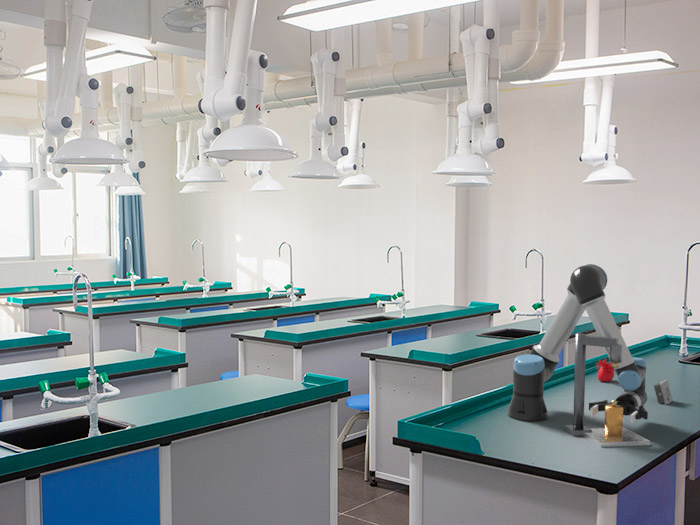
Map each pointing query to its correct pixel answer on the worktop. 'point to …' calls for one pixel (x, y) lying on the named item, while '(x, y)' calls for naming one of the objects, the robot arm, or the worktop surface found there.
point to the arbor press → (579, 394)
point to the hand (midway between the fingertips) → (611, 415)
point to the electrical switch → (663, 392)
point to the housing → (613, 420)
